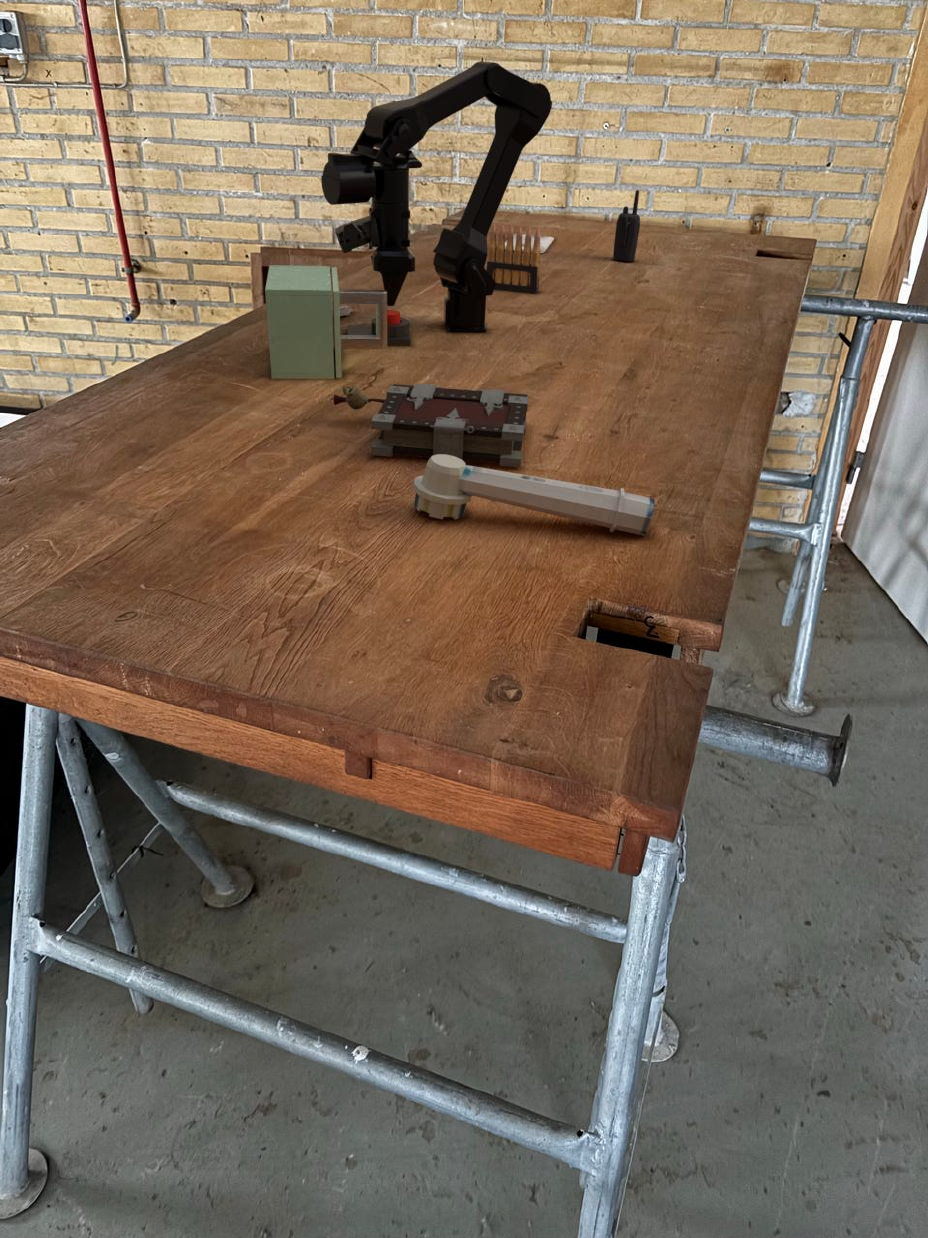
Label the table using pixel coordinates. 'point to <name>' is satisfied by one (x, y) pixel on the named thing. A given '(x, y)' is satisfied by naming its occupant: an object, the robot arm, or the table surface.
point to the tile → (544, 242)
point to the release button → (393, 317)
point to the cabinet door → (358, 340)
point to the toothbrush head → (527, 495)
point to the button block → (395, 332)
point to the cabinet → (300, 322)
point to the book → (447, 422)
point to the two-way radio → (627, 233)
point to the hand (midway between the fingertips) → (390, 305)
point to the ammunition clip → (514, 261)
